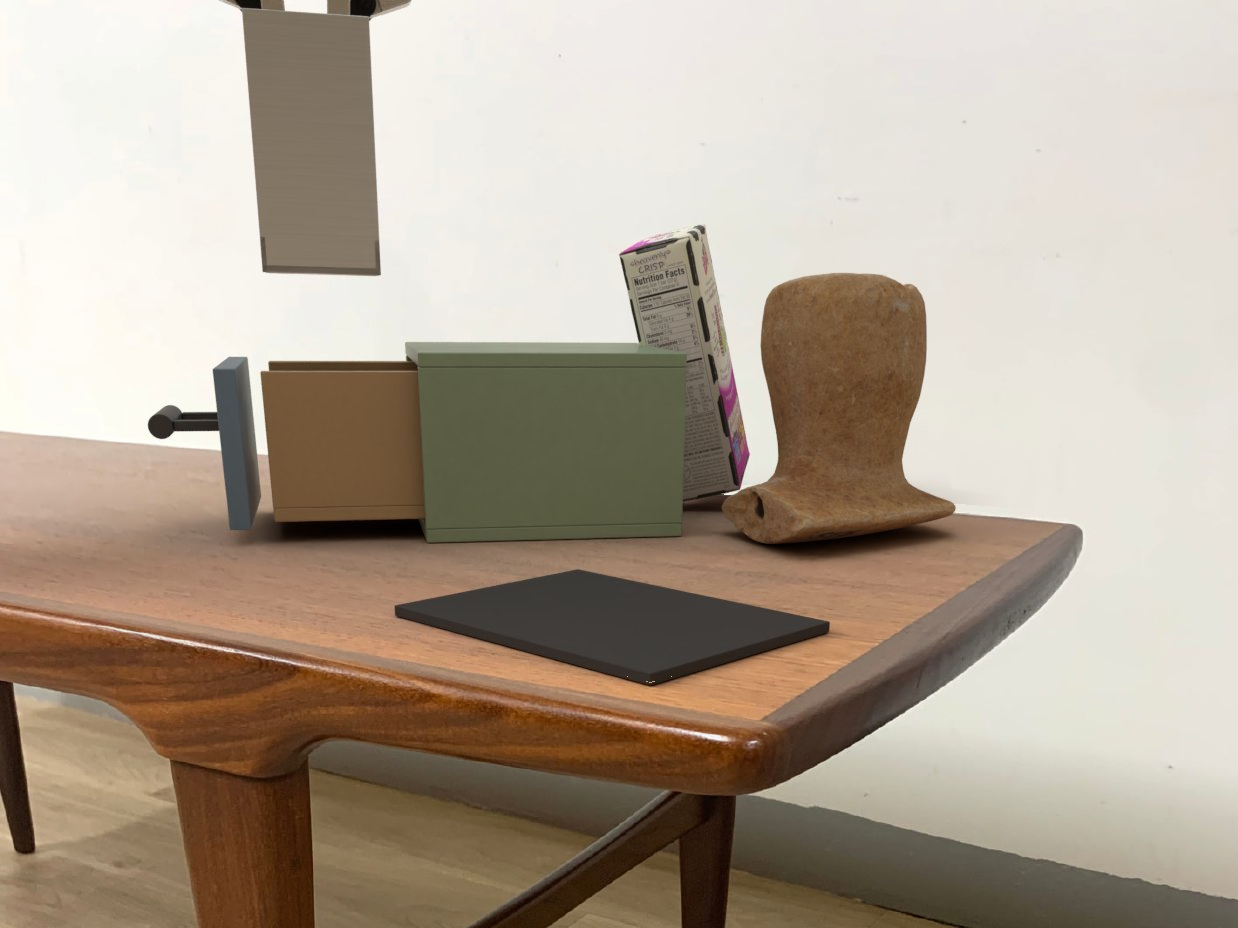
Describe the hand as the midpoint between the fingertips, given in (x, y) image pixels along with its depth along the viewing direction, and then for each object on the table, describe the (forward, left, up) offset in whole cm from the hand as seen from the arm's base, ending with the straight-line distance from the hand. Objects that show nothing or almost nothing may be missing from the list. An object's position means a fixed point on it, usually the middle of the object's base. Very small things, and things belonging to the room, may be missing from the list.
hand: (313, 126), depth 73 cm
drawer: (-1, 0, -21) cm, 21 cm away
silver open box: (0, 0, -8) cm, 8 cm away
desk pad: (+12, -28, -22) cm, 37 cm away
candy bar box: (+26, +8, -21) cm, 34 cm away
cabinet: (+13, 0, -22) cm, 26 cm away
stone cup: (+30, -7, -22) cm, 38 cm away
